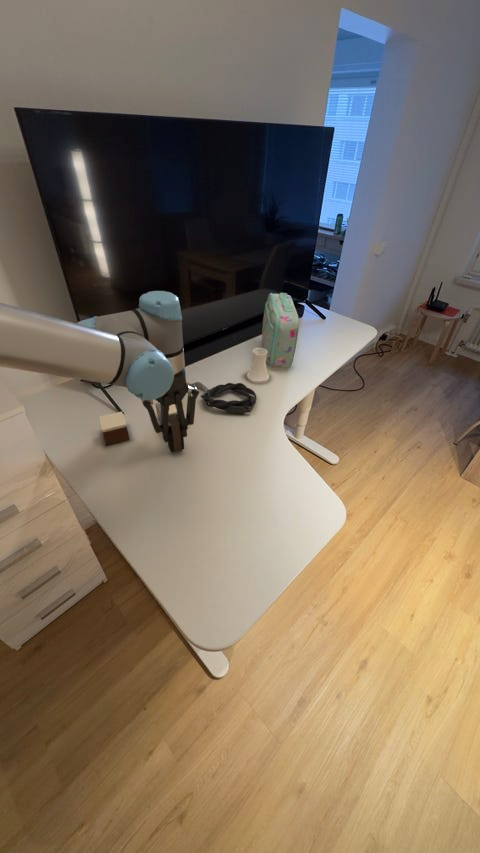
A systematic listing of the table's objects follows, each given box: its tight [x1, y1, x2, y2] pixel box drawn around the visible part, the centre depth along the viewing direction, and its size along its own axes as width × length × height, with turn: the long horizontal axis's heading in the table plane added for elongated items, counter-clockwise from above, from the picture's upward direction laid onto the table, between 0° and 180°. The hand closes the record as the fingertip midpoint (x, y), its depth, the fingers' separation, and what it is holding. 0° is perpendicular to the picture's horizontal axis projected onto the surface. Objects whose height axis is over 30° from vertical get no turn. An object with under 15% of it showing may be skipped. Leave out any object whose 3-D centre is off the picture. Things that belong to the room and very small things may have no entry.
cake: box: [98, 411, 131, 447], centre depth 91 cm, size 6×6×6 cm
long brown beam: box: [154, 402, 183, 454], centre depth 90 cm, size 2×17×10 cm, turn 27°
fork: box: [186, 381, 209, 392], centre depth 112 cm, size 2×2×20 cm
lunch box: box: [260, 292, 300, 368], centre depth 124 cm, size 27×10×21 cm, turn 3°
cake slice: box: [159, 403, 185, 423], centre depth 96 cm, size 5×6×6 cm
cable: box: [200, 382, 257, 415], centre depth 105 cm, size 17×14×4 cm
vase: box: [246, 347, 270, 384], centre depth 115 cm, size 8×8×10 cm
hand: (176, 447), depth 89 cm, fingers closed on long brown beam, 2 cm apart
